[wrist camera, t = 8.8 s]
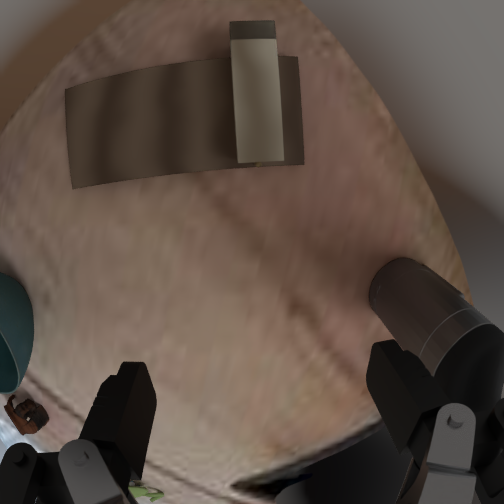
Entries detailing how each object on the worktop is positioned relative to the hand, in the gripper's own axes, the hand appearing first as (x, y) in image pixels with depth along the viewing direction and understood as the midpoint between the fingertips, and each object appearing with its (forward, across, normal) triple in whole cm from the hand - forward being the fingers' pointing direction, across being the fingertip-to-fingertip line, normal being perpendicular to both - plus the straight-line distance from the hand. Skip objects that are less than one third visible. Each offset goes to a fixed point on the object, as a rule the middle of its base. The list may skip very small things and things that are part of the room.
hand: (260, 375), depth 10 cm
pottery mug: (+26, +47, +35) cm, 64 cm away
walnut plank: (+26, +6, -11) cm, 29 cm away
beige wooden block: (+26, -2, -12) cm, 28 cm away
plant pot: (+26, +37, +10) cm, 47 cm away
